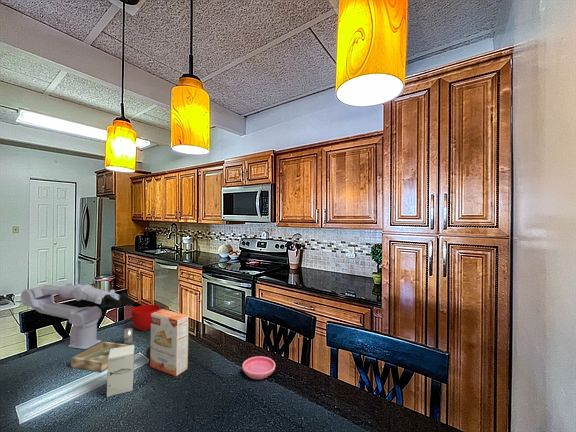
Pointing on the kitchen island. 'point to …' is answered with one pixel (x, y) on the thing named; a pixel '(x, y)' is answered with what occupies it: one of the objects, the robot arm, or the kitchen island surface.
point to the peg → (128, 336)
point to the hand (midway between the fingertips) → (127, 303)
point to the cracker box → (169, 342)
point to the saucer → (258, 367)
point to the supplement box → (120, 370)
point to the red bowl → (143, 316)
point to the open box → (94, 357)
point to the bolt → (148, 352)
